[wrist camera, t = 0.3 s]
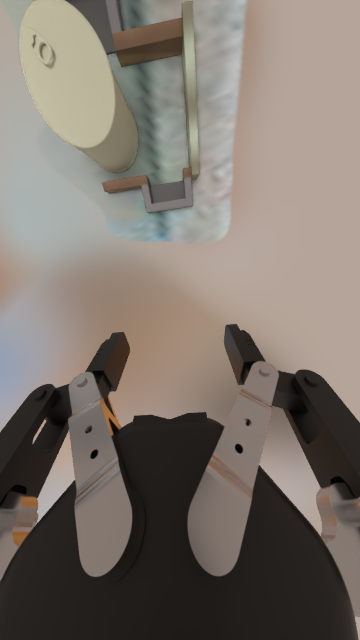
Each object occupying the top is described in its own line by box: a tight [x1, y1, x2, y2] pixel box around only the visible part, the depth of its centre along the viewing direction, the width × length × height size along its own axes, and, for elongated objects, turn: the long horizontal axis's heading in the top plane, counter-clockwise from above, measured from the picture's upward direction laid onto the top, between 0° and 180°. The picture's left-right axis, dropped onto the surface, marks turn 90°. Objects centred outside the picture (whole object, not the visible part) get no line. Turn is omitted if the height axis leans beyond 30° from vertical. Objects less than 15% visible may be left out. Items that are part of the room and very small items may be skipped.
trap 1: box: [141, 177, 193, 213], centre depth 29 cm, size 4×9×2 cm, turn 97°
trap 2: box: [65, 0, 123, 54], centre depth 19 cm, size 5×8×2 cm, turn 97°
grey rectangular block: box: [19, 0, 138, 173], centre depth 20 cm, size 9×9×12 cm
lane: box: [102, 1, 199, 193], centre depth 23 cm, size 14×17×4 cm
